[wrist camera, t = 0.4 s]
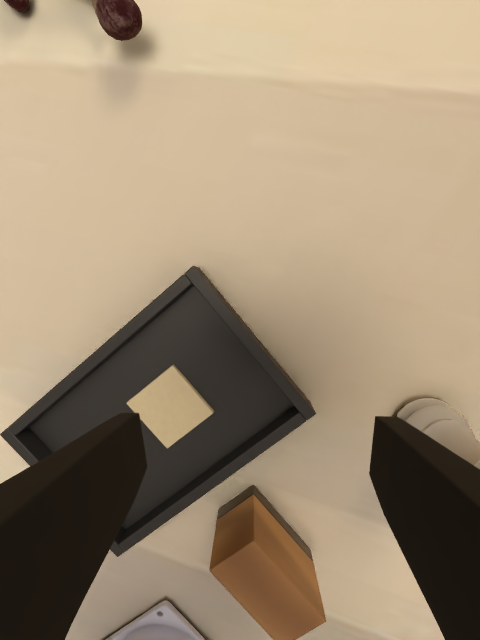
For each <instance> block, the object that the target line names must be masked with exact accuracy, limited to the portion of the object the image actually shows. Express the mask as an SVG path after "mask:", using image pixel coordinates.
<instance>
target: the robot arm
mask: <svg viewBox="0 0 480 640" xmlns="http://www.w3.org/2000/svg"><path fill="white" fill-rule="evenodd" d="M147 467H148V466H147V460H146V453H145V447H144V441H143V434H142V428H141V422H140V415H139V413H119V414H118V415H116V416H114V417H112V418H110V419H108V420H107V421H105V422H103V423H102V424H100V425H98V426H97V427H95V428H93V429H92V430H90V431H88V432H87V433H85V434H84V435H82V436H80V437H79V438H77V439H75V440H74V441H72V442H70V443H69V444H67V445H66V446H64V447H62V448H61V449H59V450H57V451H56V452H54V453H53V454H51V455H49V456H48V457H46V458H44V459H43V460H41V461H39V462H37V463H36V464H34V465H32V466H30V467H29V468H27V469H25V470H24V471H22V472H20V473H18V474H17V475H15V476H13V477H11V478H10V479H8V480H6V481H5V482H3V483H1V484H0V640H65V638H66V635H67V633H68V631H69V629H70V626H71V624H72V622H73V620H74V618H75V616H76V614H77V612H78V610H79V608H80V606H81V604H82V602H83V600H84V598H85V596H86V594H87V592H88V590H89V588H90V586H91V584H92V582H93V580H94V578H95V576H96V574H97V573H98V571H99V569H100V567H101V565H102V563H103V561H104V559H105V557H106V555H107V553H108V551H109V549H110V548H111V546H112V544H113V542H114V540H115V538H116V536H117V534H118V532H119V530H120V528H121V526H122V524H123V522H124V520H125V519H126V517H127V515H128V513H129V511H130V509H131V507H132V505H133V503H134V500H135V498H136V495H137V493H138V490H139V488H140V485H141V483H142V480H143V477H144V475H145V472H146V469H147ZM369 474H370V477H371V480H372V483H373V486H374V489H375V491H376V494H377V497H378V500H379V502H380V505H381V508H382V510H383V513H384V515H385V517H386V519H387V521H388V523H389V525H390V528H391V530H392V532H393V534H394V536H395V538H396V540H397V542H398V544H399V546H400V548H401V550H402V552H403V554H404V556H405V558H406V560H407V562H408V564H409V566H410V569H411V571H412V573H413V575H414V577H415V579H416V581H417V583H418V585H419V587H420V589H421V591H422V593H423V595H424V597H425V599H426V601H427V603H428V605H429V607H430V609H431V611H432V613H433V615H434V617H435V619H436V621H437V623H438V625H439V627H440V630H441V632H442V634H443V636H444V638H445V640H480V469H479V468H477V467H476V466H474V465H472V464H471V463H469V462H468V461H466V460H465V459H463V458H461V457H460V456H458V455H457V454H455V453H454V452H452V451H451V450H449V449H448V448H446V447H445V446H443V445H442V444H440V443H438V442H437V441H435V440H434V439H432V438H431V437H429V436H428V435H426V434H425V433H423V432H422V431H420V430H418V429H417V428H415V427H414V426H412V425H411V424H409V423H407V422H406V421H404V420H402V419H400V418H399V417H383V416H375V424H374V434H373V444H372V453H371V463H370V472H369ZM105 640H205V639H204V638H203V637H202V635H201V634H200V633H199V632H198V631H197V630H196V629H195V628H194V627H193V626H192V625H191V624H190V623H189V622H188V621H187V620H186V619H185V618H184V617H183V616H182V615H181V614H180V612H179V611H178V610H177V609H176V608H175V607H174V606H173V605H172V604H171V603H170V602H169V601H162V602H161V603H159V604H158V605H156V606H155V607H153V608H152V609H150V610H149V611H147V612H146V613H144V614H143V615H141V616H140V617H138V618H137V619H135V620H134V621H132V622H131V623H129V624H128V625H126V626H125V627H123V628H122V629H120V630H119V631H117V632H116V633H114V634H113V635H111V636H110V637H108V638H107V639H105Z"/></svg>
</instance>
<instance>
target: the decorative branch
mask: <svg viewBox="0 0 480 640" xmlns="http://www.w3.org/2000/svg"><path fill="white" fill-rule="evenodd" d="M4 1H5V2H6V3H7V4H9V5H10V6H11V7H12V8H14V9H15V10H17V11H19V12H26V11H27V10H28V8H29V0H4ZM92 2H93V6H94V9H95V12H96V14H97V17H98V19H99V22H100V24H101V26H102V28H103V29H104V30H105V32H106V33H107V34H108V35H109V36H111V37H113V38H114V39H116V40H120V41H123V40H129V39H131V38H134V37H135V36H136V35H137V34H138V33H139V32H140V30H141V27H142V15H141V11H140V9H139V7H138V5H137V4H136V3H135V1H134V0H92Z"/></svg>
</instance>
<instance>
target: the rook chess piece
mask: <svg viewBox="0 0 480 640" xmlns="http://www.w3.org/2000/svg"><path fill="white" fill-rule="evenodd" d="M397 417H399V418H400V419H402V420H404V421H406V422H407V423H409V424H411V425H412V426H414V427H415V428H417V429H418V430H420V431H422V432H423V433H425V434H426V435H428V436H429V437H431V438H432V439H434V440H435V441H437V442H438V443H440V444H442V445H443V446H445V447H446V448H448V449H449V450H451V451H452V452H454V453H455V454H457V455H458V456H460V457H461V458H463V459H465V460H466V461H468V462H469V463H471V464H472V465H474V466H476V467H477V468H479V469H480V442H479V441H478V440H477V439H476V438H475V436H474V434H473V432H472V430H471V429H470V427H469V425H468V423H467V421H466V419H465V418H464V417H463V416H462V415H461V414H460V413H458V412H457V411H456V410H455V409H454V408H451V407H450V406H449V405H448V404H447V403H445V402H444V401H441V400H437V399H434V398H424V399H417V400H415V401H413V402H410V403H408V404H406V405H405V406H404V407H403V408H402V409H401V410H400V411H399V412H398V414H397Z"/></svg>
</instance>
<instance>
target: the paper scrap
mask: <svg viewBox="0 0 480 640" xmlns="http://www.w3.org/2000/svg"><path fill="white" fill-rule="evenodd" d="M127 405H128V406H129V407H130V408H131V409H132V410H133V411H134V412H135V413H139V415H140V419H141V420H142V421H143V422H144V424H145V425H146V426H147V427H148V428H149V429H150V430H151V431H152V432H153V434H154V435H155V436H156V437H157V438H158V439H159V440H160V441H161V442H162V444H163V445H164V446H165V447H166V448H169V447H170V446H171V445H173V444H174V443H175V442H177V441H178V440H179V439H180V438H182V437H183V436H184V435H186V434H187V433H188V432H190V431H191V430H192V429H193V428H195V427H196V426H197V425H199V424H200V423H201V422H203V421H204V420H205V419H206V418H208V417H209V416H210V415H212V414H213V412H214V410H213V409H212V408H211V407H210V405H209V404H208V403H207V402H206V401H205V400H204V398H203V397H202V396H201V395H200V394H199V393H198V392H197V390H196V389H195V388H194V387H193V386H192V385H191V384H190V382H189V381H188V380H187V379H186V378H185V377H184V375H183V374H182V373H181V372H180V371H179V370H178V369H177V367H176V366H175V365H174V364H173V365H172V366H171V367H169V368H168V369H167V370H166V371H164V372H163V373H162V374H161V375H160V376H158V377H157V378H156V379H155V380H153V381H152V382H151V383H150V384H149V385H147V386H146V387H145V388H144V389H142V390H141V391H140V392H139V393H138V394H136V395H135V396H134V397H133V398H132V399H130V400H129V401H128V402H127Z"/></svg>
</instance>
